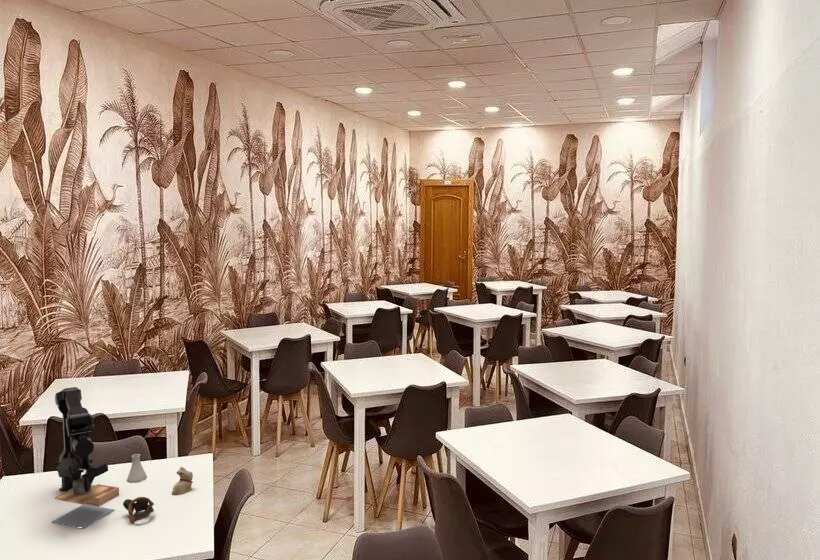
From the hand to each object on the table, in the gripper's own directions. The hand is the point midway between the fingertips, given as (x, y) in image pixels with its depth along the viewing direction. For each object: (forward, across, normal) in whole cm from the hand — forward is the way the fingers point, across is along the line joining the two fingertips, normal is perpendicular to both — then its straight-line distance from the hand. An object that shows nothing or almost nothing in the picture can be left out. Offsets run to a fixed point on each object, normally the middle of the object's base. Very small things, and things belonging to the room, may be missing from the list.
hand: (82, 490), depth 219 cm
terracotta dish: (+10, -6, +13) cm, 17 cm away
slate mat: (+10, 0, 0) cm, 10 cm away
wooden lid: (+2, 0, 0) cm, 2 cm away
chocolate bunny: (+10, +20, +28) cm, 36 cm away
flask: (+10, -5, +32) cm, 34 cm away
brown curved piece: (+10, +19, +6) cm, 22 cm away
